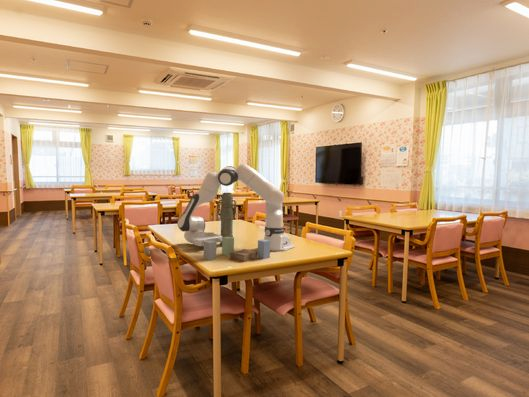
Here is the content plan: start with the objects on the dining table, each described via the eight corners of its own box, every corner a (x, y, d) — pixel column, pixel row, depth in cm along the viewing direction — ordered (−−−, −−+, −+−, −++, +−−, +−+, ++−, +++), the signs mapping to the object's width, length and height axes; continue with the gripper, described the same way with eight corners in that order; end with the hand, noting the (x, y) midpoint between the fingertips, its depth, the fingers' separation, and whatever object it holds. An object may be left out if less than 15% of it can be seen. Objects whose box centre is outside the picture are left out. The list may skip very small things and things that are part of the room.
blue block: (263, 256, 204) (263, 239, 203) (269, 257, 200) (270, 240, 200) (257, 257, 200) (257, 240, 199) (263, 259, 197) (264, 241, 196)
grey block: (210, 257, 198) (210, 240, 197) (216, 259, 194) (216, 241, 194) (203, 258, 194) (203, 241, 193) (209, 260, 191) (209, 242, 190)
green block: (228, 252, 210) (228, 236, 209) (233, 254, 207) (234, 237, 206) (221, 254, 206) (222, 237, 206) (227, 255, 203) (227, 238, 202)
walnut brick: (244, 255, 205) (244, 249, 205) (257, 258, 199) (257, 251, 198) (230, 259, 195) (230, 252, 195) (243, 262, 189) (243, 255, 189)
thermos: (236, 245, 230) (236, 193, 227) (218, 246, 228) (218, 193, 225) (234, 243, 239) (235, 192, 236) (217, 243, 236) (218, 192, 234)
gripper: (188, 235, 216) (202, 239, 206) (214, 232, 231) (228, 235, 221) (188, 245, 216) (202, 249, 207) (214, 241, 231) (228, 244, 222)
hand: (215, 242), depth 214 cm, fingers open, 8 cm apart
